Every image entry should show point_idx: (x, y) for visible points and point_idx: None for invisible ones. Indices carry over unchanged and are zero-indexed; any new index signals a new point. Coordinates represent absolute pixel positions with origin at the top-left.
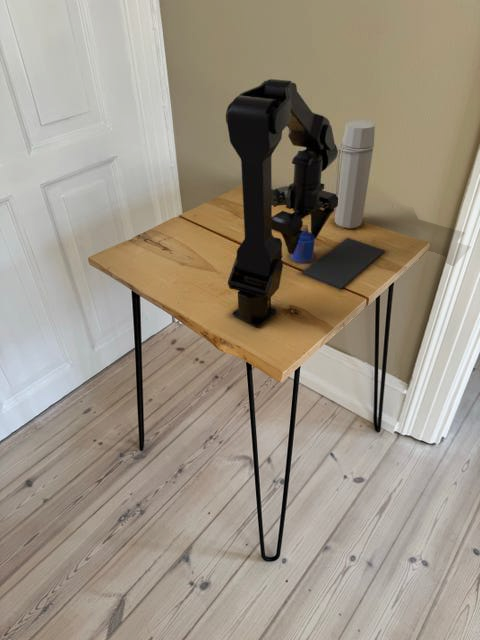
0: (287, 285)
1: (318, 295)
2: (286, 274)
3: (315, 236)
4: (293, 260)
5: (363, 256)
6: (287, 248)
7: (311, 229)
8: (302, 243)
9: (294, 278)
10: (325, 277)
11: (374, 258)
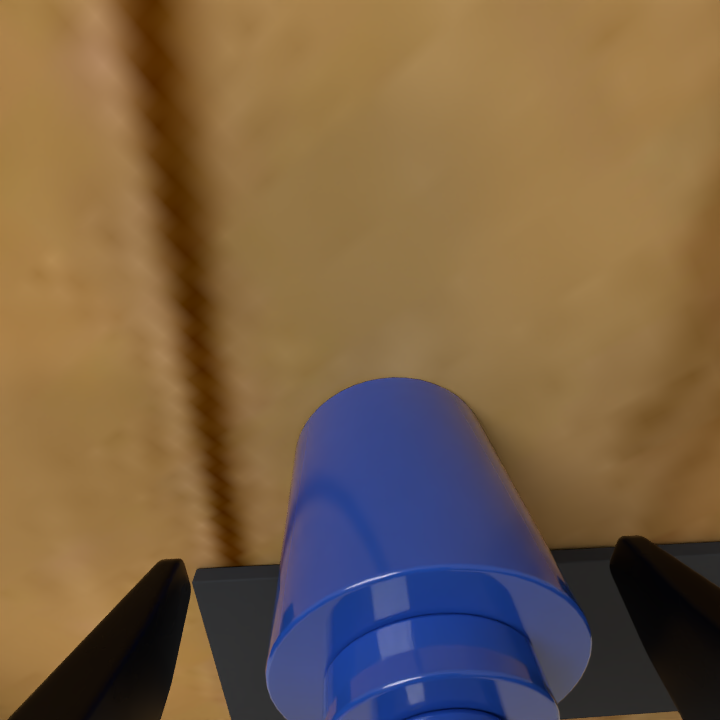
0: (13, 579)
1: None
2: (100, 509)
3: (626, 594)
4: (298, 441)
5: (592, 686)
6: (107, 618)
7: (708, 628)
8: (294, 715)
9: (114, 565)
10: (256, 677)
11: (595, 715)
